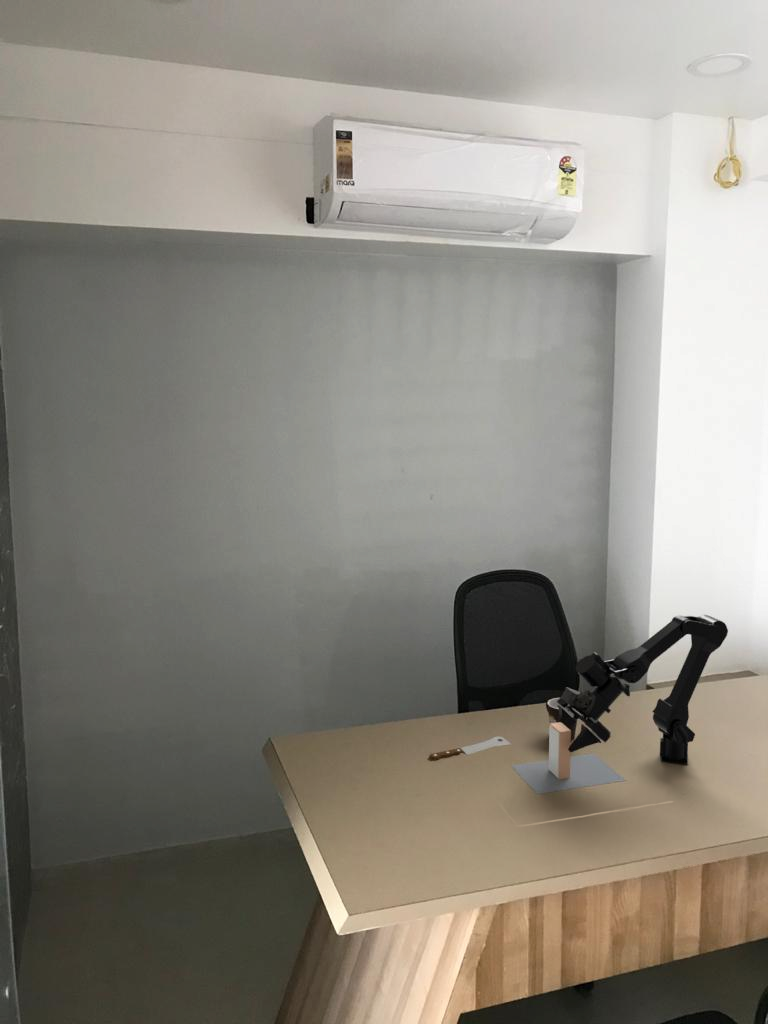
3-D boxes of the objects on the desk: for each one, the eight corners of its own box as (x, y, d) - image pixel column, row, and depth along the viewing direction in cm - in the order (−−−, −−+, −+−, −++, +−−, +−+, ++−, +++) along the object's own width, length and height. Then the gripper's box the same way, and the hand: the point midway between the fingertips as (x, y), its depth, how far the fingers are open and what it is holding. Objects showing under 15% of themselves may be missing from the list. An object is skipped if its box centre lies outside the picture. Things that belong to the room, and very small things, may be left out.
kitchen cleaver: (442, 767, 224) (424, 750, 233) (442, 771, 224) (424, 754, 233) (522, 750, 234) (502, 735, 243) (522, 754, 234) (502, 738, 243)
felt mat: (594, 754, 231) (594, 753, 231) (626, 781, 216) (626, 780, 216) (510, 766, 225) (510, 765, 225) (537, 795, 210) (537, 793, 210)
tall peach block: (559, 768, 223) (560, 722, 221) (569, 777, 218) (570, 730, 216) (548, 770, 222) (549, 723, 220) (558, 779, 217) (559, 732, 215)
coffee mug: (581, 744, 238) (582, 709, 236) (549, 744, 238) (550, 709, 236) (573, 727, 249) (574, 693, 248) (542, 727, 249) (543, 693, 248)
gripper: (565, 665, 226) (524, 710, 225) (601, 690, 208) (557, 739, 207) (591, 691, 230) (551, 735, 228) (629, 718, 212) (586, 766, 211)
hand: (560, 743), depth 219 cm, fingers open, 9 cm apart
